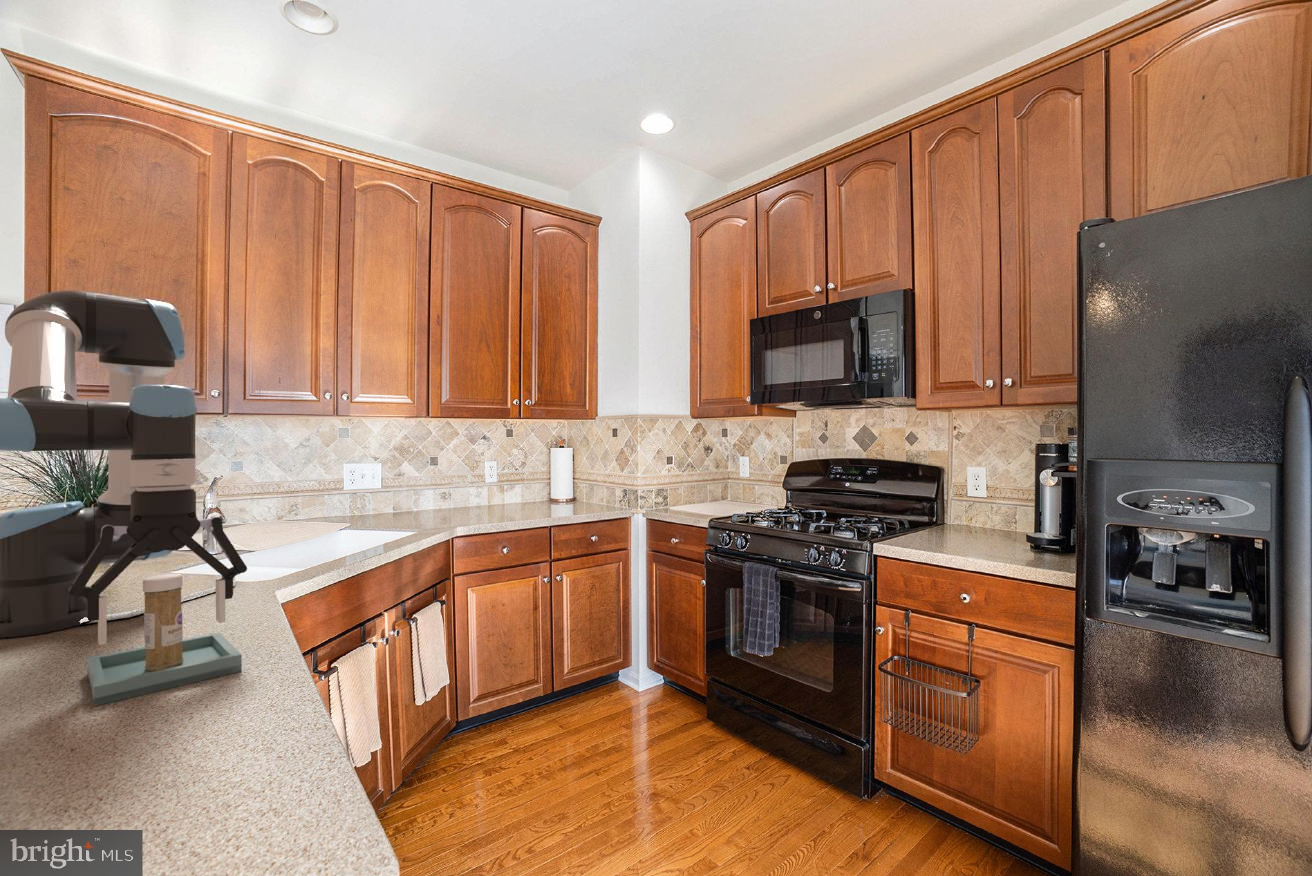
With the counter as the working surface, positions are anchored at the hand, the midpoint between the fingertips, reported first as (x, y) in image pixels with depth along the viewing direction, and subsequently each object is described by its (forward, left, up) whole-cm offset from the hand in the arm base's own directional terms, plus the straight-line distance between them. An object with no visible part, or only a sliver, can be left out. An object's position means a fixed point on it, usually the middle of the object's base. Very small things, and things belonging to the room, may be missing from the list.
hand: (164, 631), depth 88 cm
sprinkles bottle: (0, 0, -5) cm, 5 cm away
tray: (0, 0, -6) cm, 6 cm away
